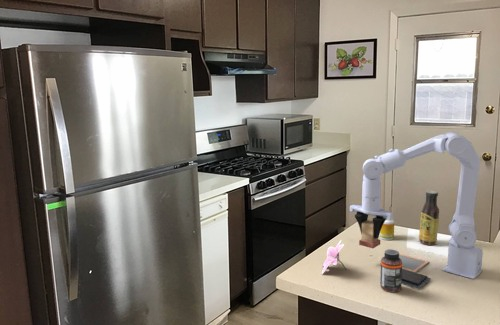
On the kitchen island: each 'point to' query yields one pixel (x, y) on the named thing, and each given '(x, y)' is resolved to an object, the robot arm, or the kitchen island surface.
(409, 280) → the ink pad
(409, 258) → the mat
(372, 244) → the stamp
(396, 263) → the supplement bottle
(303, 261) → the kitchen island surface
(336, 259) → the lily
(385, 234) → the supplement bottle
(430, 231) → the tonic bottle
